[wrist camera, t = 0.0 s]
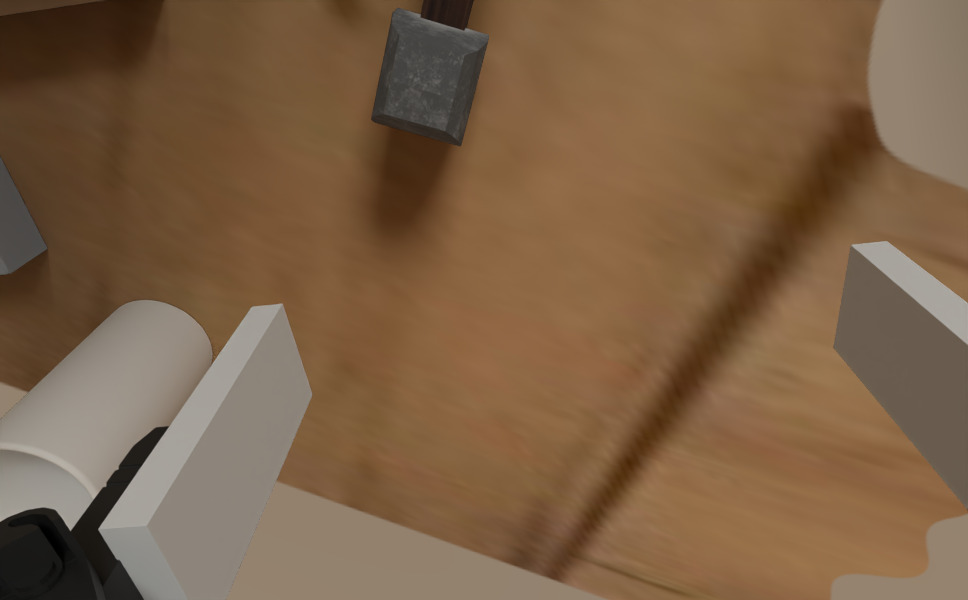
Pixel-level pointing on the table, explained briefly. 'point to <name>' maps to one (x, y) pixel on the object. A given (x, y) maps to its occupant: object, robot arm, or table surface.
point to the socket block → (16, 227)
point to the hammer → (430, 71)
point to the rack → (36, 5)
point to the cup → (99, 408)
